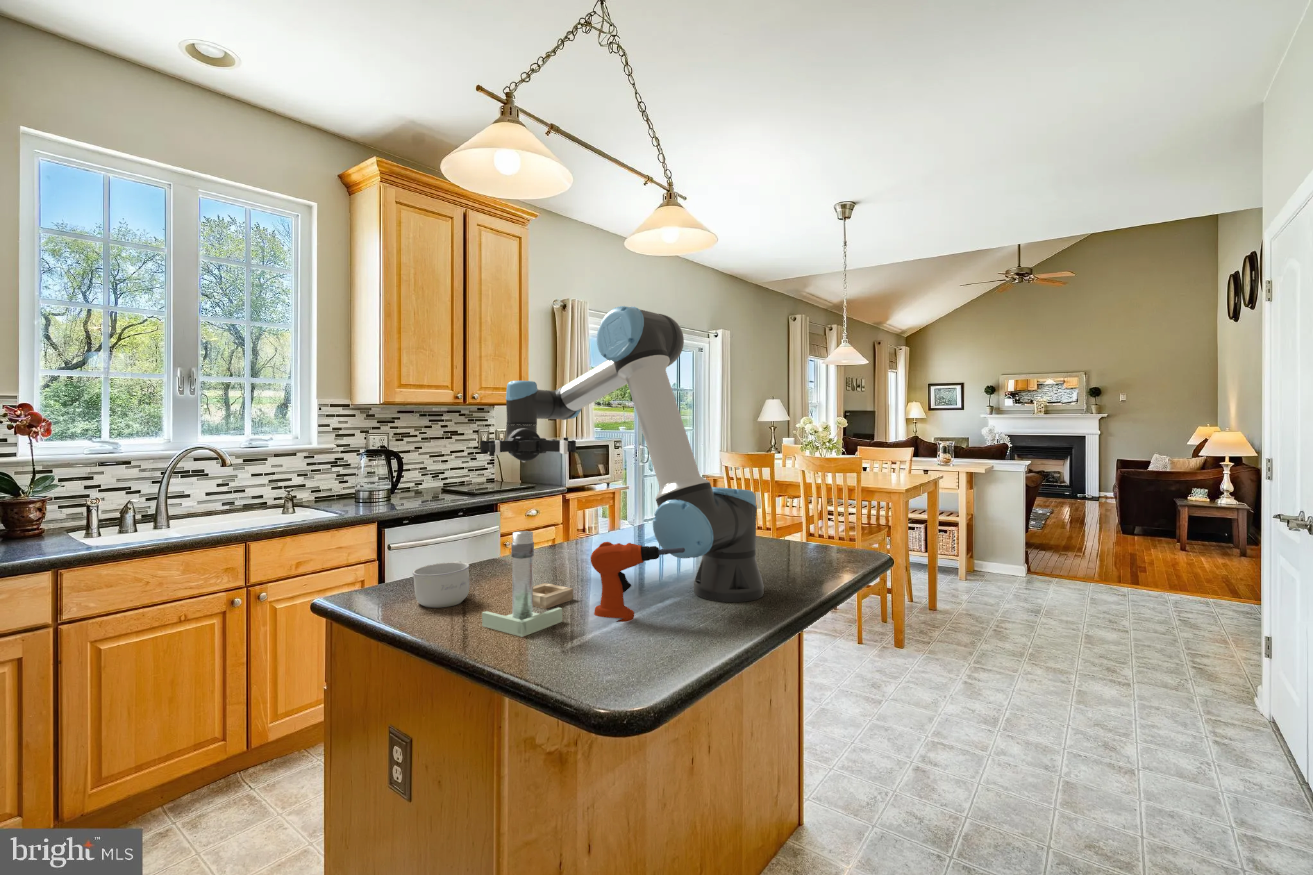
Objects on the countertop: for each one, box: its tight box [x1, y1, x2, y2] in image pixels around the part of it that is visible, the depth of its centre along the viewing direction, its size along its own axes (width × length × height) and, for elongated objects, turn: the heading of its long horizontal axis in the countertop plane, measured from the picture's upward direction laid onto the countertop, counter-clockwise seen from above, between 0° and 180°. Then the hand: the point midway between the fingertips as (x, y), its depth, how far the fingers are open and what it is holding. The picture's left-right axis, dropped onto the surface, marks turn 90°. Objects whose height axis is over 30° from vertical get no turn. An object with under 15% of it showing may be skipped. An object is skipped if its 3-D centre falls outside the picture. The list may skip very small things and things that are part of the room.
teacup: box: [412, 560, 470, 609], centre depth 127 cm, size 14×11×8 cm
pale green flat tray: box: [481, 607, 563, 638], centre depth 112 cm, size 10×10×3 cm
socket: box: [533, 582, 574, 610], centre depth 127 cm, size 8×8×3 cm
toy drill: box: [590, 541, 685, 623], centre depth 117 cm, size 5×19×15 cm, turn 82°
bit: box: [510, 530, 535, 620], centre depth 112 cm, size 4×4×16 cm
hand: (532, 447), depth 126 cm, fingers open, 13 cm apart
